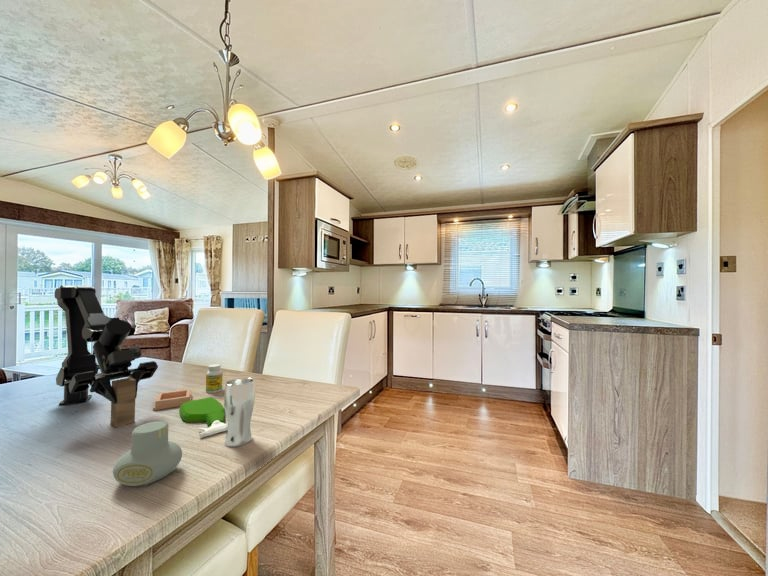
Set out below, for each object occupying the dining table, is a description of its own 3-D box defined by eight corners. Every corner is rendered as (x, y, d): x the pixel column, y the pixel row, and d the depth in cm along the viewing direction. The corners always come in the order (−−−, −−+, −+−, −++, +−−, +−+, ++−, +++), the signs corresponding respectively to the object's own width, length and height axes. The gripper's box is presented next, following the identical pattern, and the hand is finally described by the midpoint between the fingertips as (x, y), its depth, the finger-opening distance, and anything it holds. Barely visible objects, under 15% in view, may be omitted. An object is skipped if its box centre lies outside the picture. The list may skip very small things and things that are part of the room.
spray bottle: (215, 404, 100) (239, 431, 82) (176, 412, 93) (193, 444, 75) (215, 395, 100) (239, 420, 82) (176, 403, 93) (193, 432, 75)
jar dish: (156, 400, 102) (157, 392, 102) (191, 395, 107) (192, 388, 107) (152, 410, 93) (153, 402, 93) (190, 404, 98) (191, 397, 98)
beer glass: (230, 434, 78) (231, 377, 78) (257, 434, 79) (258, 377, 79) (217, 448, 71) (219, 385, 72) (247, 447, 72) (249, 385, 72)
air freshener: (188, 463, 65) (190, 417, 65) (165, 488, 57) (167, 435, 57) (134, 466, 64) (135, 419, 64) (102, 491, 55) (104, 437, 56)
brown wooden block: (110, 424, 83) (111, 381, 83) (128, 418, 87) (129, 377, 87) (116, 427, 81) (118, 383, 81) (134, 421, 85) (136, 379, 85)
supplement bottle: (221, 387, 116) (222, 363, 116) (222, 391, 111) (223, 366, 112) (205, 390, 113) (206, 364, 113) (206, 394, 108) (206, 367, 109)
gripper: (74, 343, 78) (89, 393, 73) (156, 335, 94) (173, 375, 89) (62, 369, 82) (76, 418, 76) (143, 357, 98) (159, 396, 93)
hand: (125, 400), depth 83 cm, fingers closed on brown wooden block, 4 cm apart
